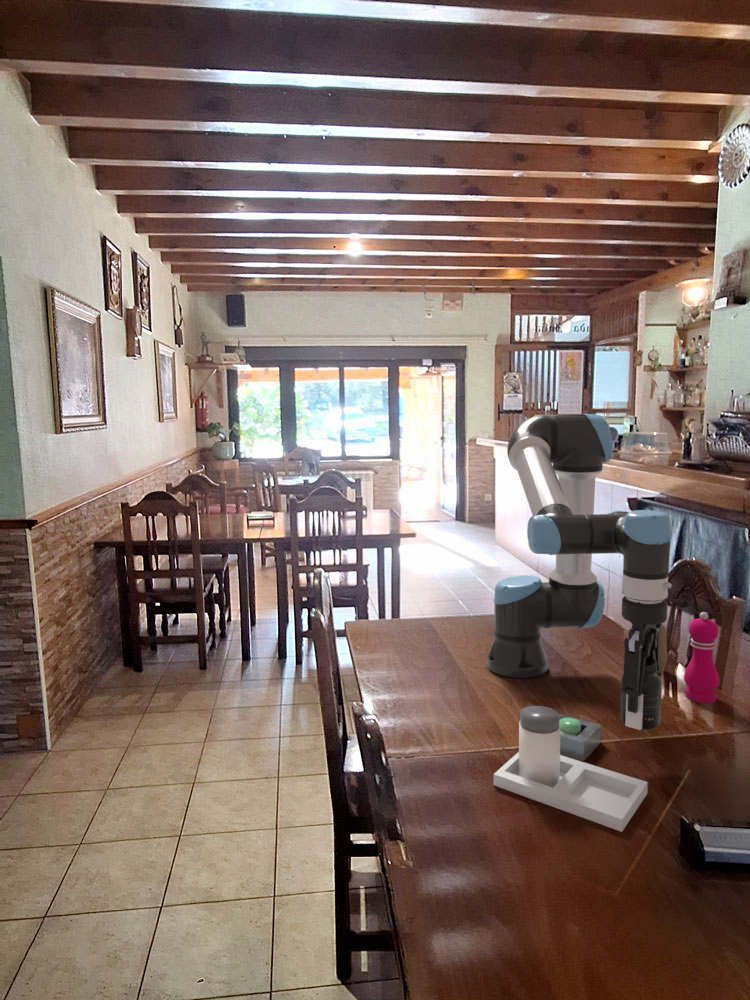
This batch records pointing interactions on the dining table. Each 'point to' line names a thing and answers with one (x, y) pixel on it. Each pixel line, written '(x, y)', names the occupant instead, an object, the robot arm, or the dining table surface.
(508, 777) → the tray
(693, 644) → the pepper mill
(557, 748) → the lidded jar
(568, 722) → the button
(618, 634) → the dining table surface
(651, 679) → the supplement bottle
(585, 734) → the grey button base
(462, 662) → the dining table surface
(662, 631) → the squeeze bottle
